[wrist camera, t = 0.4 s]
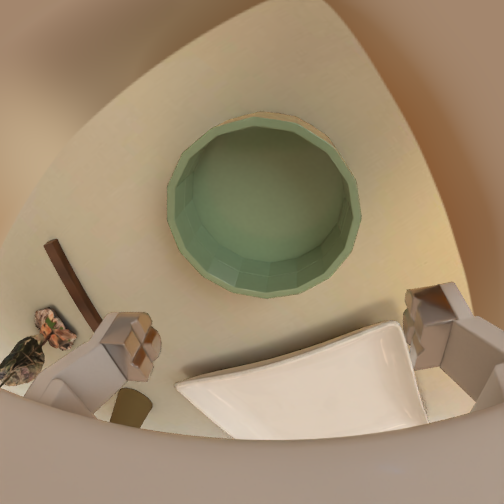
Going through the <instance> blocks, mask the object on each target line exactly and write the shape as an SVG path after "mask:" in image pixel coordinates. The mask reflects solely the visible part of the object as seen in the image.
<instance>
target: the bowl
mask: <svg viewBox="0 0 504 504" xmlns="http://www.w3.org/2000/svg"><path fill="white" fill-rule="evenodd" d="M361 217H362V216H361V209H360V202H359V195H358V189H357V182H356V179H355V178H354V176H353V174H352V173H351V171H350V169H349V168H348V166H347V164H346V163H345V161H344V160H343V158H342V157H341V155H340V154H339V152H338V151H337V149H336V148H335V146H334V145H333V143H332V142H331V140H330V139H329V137H328V136H327V135H325V134H324V133H322V132H321V131H319V130H318V129H316V128H315V127H314V126H312V125H311V124H309V123H307V122H305V121H303V120H302V119H300V118H298V117H296V116H290V115H286V114H281V113H273V112H264V111H260V112H256V113H252V114H247V115H243V116H240V117H237V118H233V119H229V120H227V121H225V122H223V123H221V124H219V125H217V126H215V127H213V128H212V129H210V130H209V131H208V132H207V133H205V134H204V135H203V136H202V137H201V138H199V139H198V140H197V141H196V142H195V143H193V144H192V145H191V146H190V147H189V148H188V149H186V150H185V151H184V152H183V153H182V155H181V157H180V159H179V162H178V164H177V166H176V168H175V170H174V172H173V174H172V177H171V179H170V181H169V183H168V186H167V222H168V224H169V227H170V229H171V232H172V234H173V237H174V239H175V241H176V244H177V246H178V249H179V251H180V252H181V254H182V255H183V256H184V257H185V258H186V259H187V260H188V261H189V262H190V263H191V264H192V266H193V267H194V268H195V269H196V270H197V271H198V272H199V273H200V274H201V275H202V276H203V277H204V278H206V279H208V280H210V281H212V282H213V283H215V284H217V285H219V286H221V287H223V288H225V289H226V290H228V291H230V292H232V293H237V294H242V295H248V296H253V297H259V298H265V299H268V298H275V297H282V296H289V295H296V294H299V293H302V292H304V291H306V290H308V289H310V288H312V287H314V286H316V285H317V284H319V283H321V282H323V281H325V280H327V279H329V278H330V277H331V276H332V274H333V273H334V272H335V271H336V270H337V269H338V267H339V266H340V265H341V264H342V263H343V262H344V260H345V259H346V258H347V257H348V256H349V254H350V253H351V252H352V249H353V246H354V242H355V239H356V236H357V232H358V229H359V226H360V222H361Z"/></svg>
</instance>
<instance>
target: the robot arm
mask: <svg viewBox="0 0 504 504" xmlns="http://www.w3.org/2000/svg"><path fill="white" fill-rule="evenodd" d="M405 303H406V305H407V309H406V310H405V311H404V313H403V332H404V337H405V341H406V343H407V344H409V345H410V346H411V347H410V352H409V355H410V358H411V361H412V365H413V369H414V370H420V369H426V368H432V367H438V366H440V368H441V369H442V370H443V371H444V372H445V373H446V374H447V375H448V376H450V377H451V378H452V379H453V380H454V381H455V382H456V383H457V384H458V385H459V386H460V387H461V388H462V389H463V390H464V391H465V392H466V393H467V394H468V395H469V396H470V397H471V398H472V399H473V400H474V401H475V402H476V403H475V405H474V406H473V408H472V410H471V411H470V413H468V414H464V415H461V416H457V417H453V418H449V419H445V420H441V421H437V422H432V423H428V424H423V425H418V426H413V427H408V428H403V429H397V430H391V431H385V432H378V433H371V434H363V435H354V436H344V437H333V438H319V439H298V440H247V439H226V438H212V437H200V436H190V435H182V434H174V433H166V432H159V431H153V430H147V429H141V428H136V427H130V426H125V425H120V424H115V423H111V422H106V421H102V420H98V419H97V418H96V417H95V416H94V415H93V414H94V413H95V412H96V411H97V410H98V409H99V408H100V407H101V406H102V405H103V404H104V403H106V402H107V401H108V400H109V399H110V398H111V397H112V396H113V395H114V394H115V393H116V392H117V391H118V390H119V389H120V388H121V387H122V386H123V385H124V384H125V383H126V382H127V380H129V381H143V382H148V379H149V377H150V375H151V373H152V371H153V368H154V366H153V363H152V362H153V361H154V360H156V359H157V358H158V357H159V355H160V352H161V345H162V342H161V338H160V335H159V333H158V331H157V330H155V329H154V328H153V327H152V326H151V325H152V319H151V318H150V316H149V314H148V313H145V312H111V313H108V314H107V315H106V316H105V318H104V319H103V321H102V322H101V324H100V325H99V327H98V328H97V329H96V331H95V332H94V334H93V335H92V337H91V338H90V340H89V341H88V343H83V344H82V345H80V346H79V347H77V348H76V349H74V350H73V351H71V352H70V353H68V354H67V355H65V356H64V357H62V358H61V359H59V360H58V361H56V362H55V363H53V364H52V365H50V366H49V367H47V368H46V369H45V370H43V371H42V372H40V373H39V374H38V375H37V377H36V378H35V380H34V381H33V383H32V384H31V386H30V387H29V389H28V390H27V392H26V394H25V395H24V397H22V396H19V395H17V394H14V393H12V392H9V391H7V390H4V389H2V388H0V504H504V331H503V330H501V329H500V328H498V327H496V326H495V325H493V324H491V323H490V322H488V321H486V320H484V319H483V318H481V317H479V316H473V314H472V312H471V310H470V308H469V307H468V305H467V303H466V301H465V300H464V298H463V296H462V295H461V293H460V291H459V290H458V288H457V286H456V285H455V283H453V282H448V283H443V284H438V285H434V286H428V287H422V288H415V289H408V290H407V291H406V295H405Z"/></svg>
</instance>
